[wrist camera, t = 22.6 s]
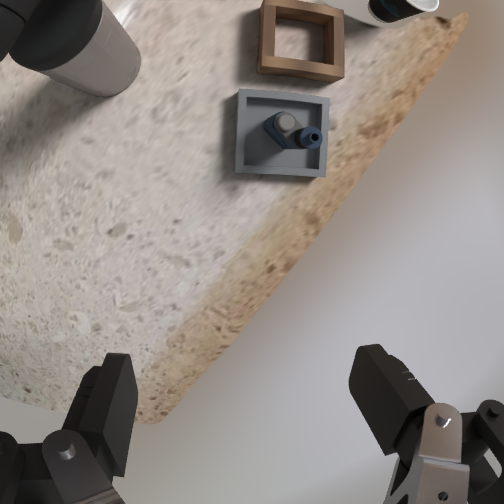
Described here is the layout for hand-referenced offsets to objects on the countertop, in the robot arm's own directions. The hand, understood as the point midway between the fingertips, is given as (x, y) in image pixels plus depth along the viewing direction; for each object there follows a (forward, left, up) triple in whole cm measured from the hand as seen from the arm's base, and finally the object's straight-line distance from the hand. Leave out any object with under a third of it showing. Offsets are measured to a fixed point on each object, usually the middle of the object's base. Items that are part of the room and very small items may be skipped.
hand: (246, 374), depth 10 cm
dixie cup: (+24, +34, -34) cm, 54 cm away
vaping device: (+8, +10, -34) cm, 36 cm away
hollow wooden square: (+10, +24, -34) cm, 43 cm away
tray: (+8, +10, -34) cm, 36 cm away
